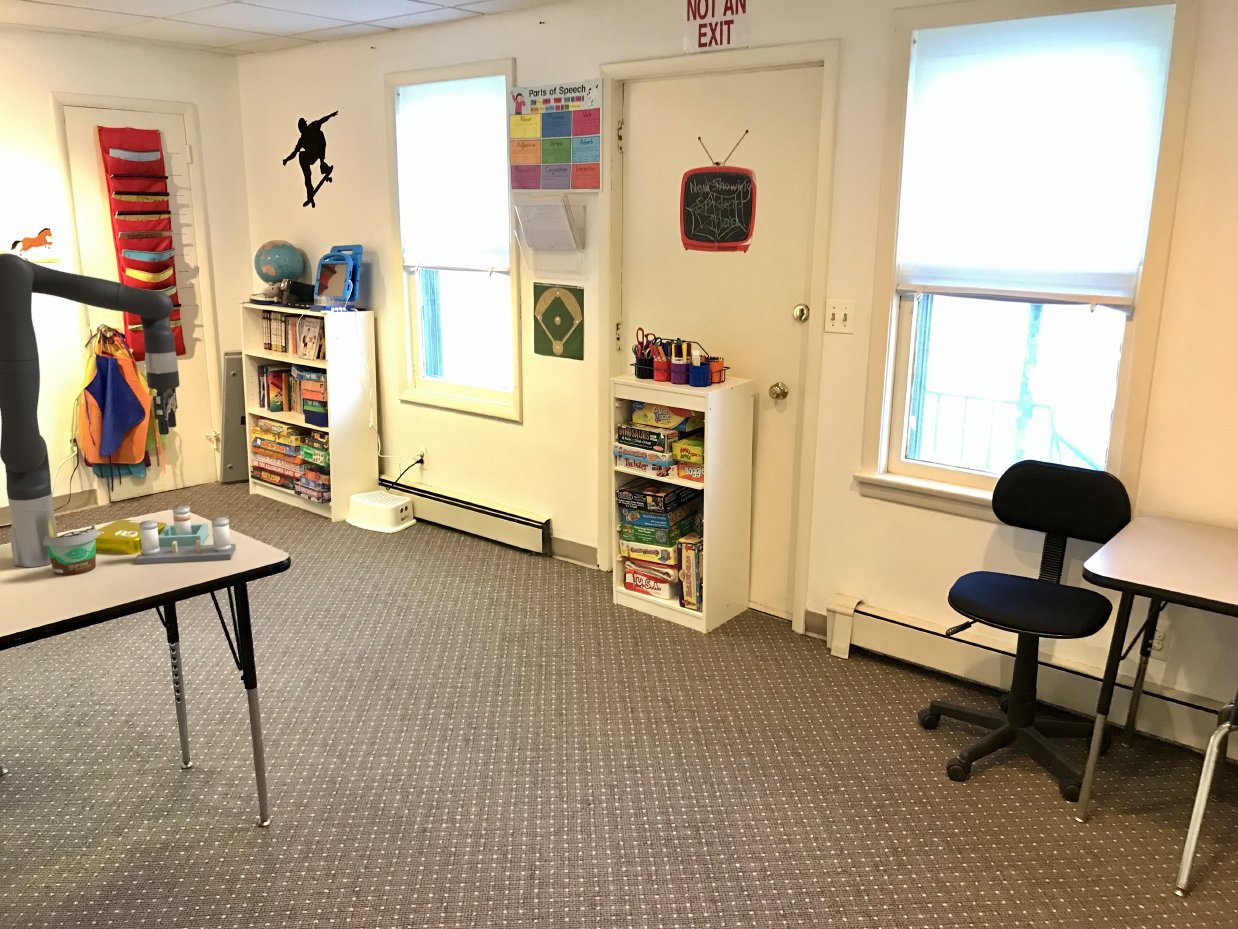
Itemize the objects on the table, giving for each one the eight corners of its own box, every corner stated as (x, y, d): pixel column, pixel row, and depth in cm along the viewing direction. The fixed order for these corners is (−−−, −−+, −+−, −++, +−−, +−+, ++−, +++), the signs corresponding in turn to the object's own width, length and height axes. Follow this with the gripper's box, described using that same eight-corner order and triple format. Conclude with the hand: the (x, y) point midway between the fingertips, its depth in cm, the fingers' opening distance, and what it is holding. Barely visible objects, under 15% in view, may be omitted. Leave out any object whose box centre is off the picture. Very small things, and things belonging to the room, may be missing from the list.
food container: (60, 581, 222) (55, 542, 220) (47, 576, 225) (42, 536, 223) (112, 567, 232) (107, 528, 230) (98, 561, 235) (94, 523, 233)
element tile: (171, 537, 255) (170, 520, 254) (136, 556, 241) (134, 538, 240) (121, 533, 257) (119, 517, 256) (83, 551, 243) (81, 534, 242)
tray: (158, 550, 244) (157, 537, 243) (167, 537, 254) (166, 525, 253) (201, 548, 246) (200, 535, 245) (208, 535, 256) (207, 523, 255)
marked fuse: (174, 543, 247) (171, 510, 245) (177, 537, 251) (174, 505, 249) (190, 542, 248) (188, 510, 246) (193, 537, 252) (190, 505, 250)
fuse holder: (137, 564, 234) (133, 528, 232) (145, 553, 242) (141, 518, 239) (230, 559, 239) (227, 524, 237) (235, 549, 247) (233, 514, 244)
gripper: (153, 365, 247) (159, 425, 251) (139, 373, 233) (145, 437, 237) (183, 364, 248) (189, 424, 252) (171, 373, 235) (177, 436, 239)
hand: (168, 430), depth 245 cm, fingers open, 8 cm apart
